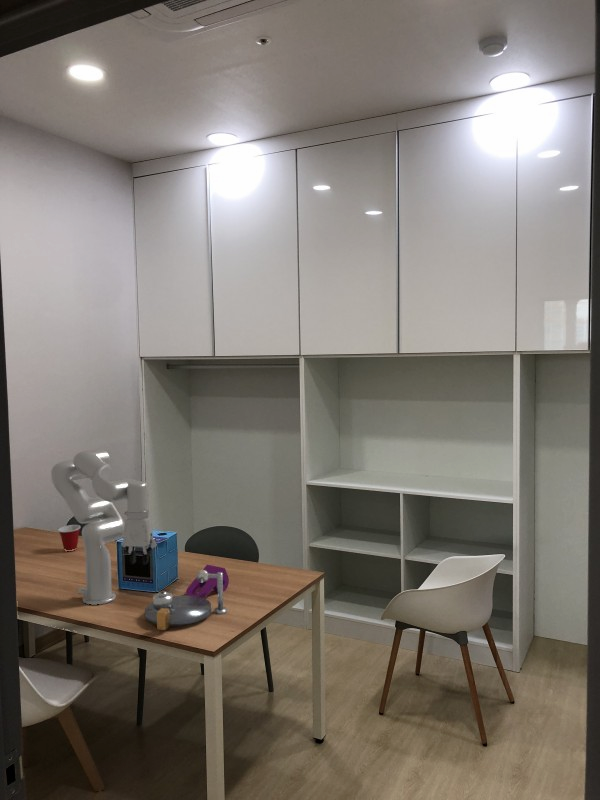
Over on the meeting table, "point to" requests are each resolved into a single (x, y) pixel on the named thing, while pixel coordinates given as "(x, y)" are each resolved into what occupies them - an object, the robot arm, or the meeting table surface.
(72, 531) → the plastic cup
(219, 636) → the meeting table surface
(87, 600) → the robot arm
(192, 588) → the mounting bracket
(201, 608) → the turntable
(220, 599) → the dial post
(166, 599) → the cover
